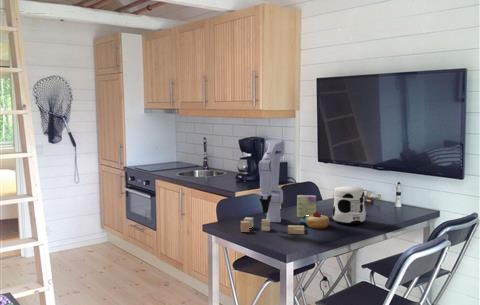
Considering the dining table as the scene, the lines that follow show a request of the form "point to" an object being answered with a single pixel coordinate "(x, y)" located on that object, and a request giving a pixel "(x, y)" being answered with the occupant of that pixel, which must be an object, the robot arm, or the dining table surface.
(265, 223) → the maple block
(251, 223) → the sage block
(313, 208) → the box
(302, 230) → the oak slab
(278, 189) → the robot arm
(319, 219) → the pastry
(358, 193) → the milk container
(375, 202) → the dining table surface
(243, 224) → the terracotta block
